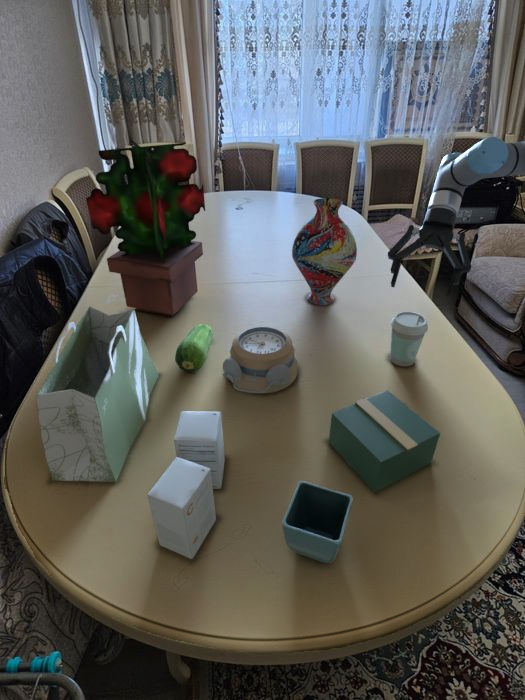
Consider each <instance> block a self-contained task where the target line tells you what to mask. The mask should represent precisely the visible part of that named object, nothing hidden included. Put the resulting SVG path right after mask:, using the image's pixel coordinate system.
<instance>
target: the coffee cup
mask: <svg viewBox="0 0 525 700" xmlns="http://www.w3.org/2000/svg"><path fill="white" fill-rule="evenodd" d="M390 326H391V336H390V351H389V352H390V357H389V358H390V361H391V362H392V363H393V364H394V365H397V366H399V367H410V366H412V365H413V364H414V363H415V361H416V357H417V356H418V352H419V349H420V348H421V346H422V345H421V344H422V342H423V339H424V337H425V334H426V333H427V332H428V329H429V327H428V326H429V324H428V321H427V318H426V317H425V316H424V315H422V314H420V313H419V312H415V311H409V310H405V311H400V312H399V311H398V312H397V313H396V314H395V315H394V317H393V318H392V319H391V322H390Z"/></svg>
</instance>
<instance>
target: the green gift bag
mask: <svg viewBox="0 0 525 700" xmlns="http://www.w3.org/2000/svg"><path fill="white" fill-rule="evenodd" d="M71 329H72V331H73V332H72V333H71V335H70V337H69V339H68V341H67V342H66V344H65V346H64V348H63V349H62V351H61V353H60V350H61V346H62V343H63V341H64V339H65V337H66V335H67V334H68V332H69V331H70V330H71ZM59 353H60V355H59ZM159 376H160V374H159V373H158V370H157V368H156V366H155V364H154V362H153V360H152V358H151V355H150V352H149V351H148V347H147V346H146V343H145V341H144V337H143V336H142V333H141V330H140V326H139V323H138V319H137V315H136V311H135V309H130V310H126V311H122V312H118V313H112V314H107V313H105V312H103V311H101V310H100V309H97V308H94V307H93V306H90V305H89V306H88V307H87V309H86V311H85V312H84V313H83V315H82V317H81V318H80V320H79V322H78V323H77V325H76V324H75V322H74V321H72V322H69V323H68V325H67V328H66V331H65V332H64V333H63V334H62V336H60V338H59V340H58V343H57V346H56V349H55V357H54V365H53V368H52V369H51V371H50V372H49V374H48V375H47V378H46V379H45V381H44V383H43V384H42V386H41V387H40V389H39V391H38V393H37V394H36V399H37V401H36V402H37V403H36V404H37V421H38V426H39V432H40V437H41V443H42V449H43V453H44V456H45V461H46V463H47V466H48V470H49V474H50V477H51V480H52V481H58V482H59V481H62V482H63V481H64V482H67V481H68V482H102V483H103V482H104V483H105V482H108V483H109V482H110V483H117V482H118V479H119V476H120V474H121V471H122V469H123V467H124V464H125V463H126V459H127V457H128V455H129V453H130V450H131V448H132V446H133V444H134V443H135V441H136V439H137V437H138V435H139V434H140V431H141V430H142V427H143V426H144V424H145V422H146V417H147V412H148V408H149V407H148V406H149V400H150V395H151V393H152V392H153V388H154V387H155V384H156V382H157V380H158V378H159Z"/></svg>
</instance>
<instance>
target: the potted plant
mask: <svg viewBox="0 0 525 700" xmlns="http://www.w3.org/2000/svg"><path fill="white" fill-rule="evenodd" d="M130 142H131V143H132V145H131V147H122V148H112V149H102V150H97V152H98V155H99V157H100V159H101V160H103V161H115V162H114V163H111V165H110V168H109V170H108V171H100V172H98V173H97V174H96V175H95V181H96V182H97V183H98V184H100V185H104V188H105V191H106V193H104V192H103V189H101V188H99V187H96V188H93V189H92V190H91V192H90V195H89V196H87V197H86V198H85V201H86V205H87V210H88V214H89V219H90V223H91V227H92V229H93V230H97V231H98V232H99V233H100V234H101V235H105V236H106V235H109V234H110V232H111V230H112V228H113V227H119V228H117V229H116V230H115V232H114V235H115V237H116V238H117V239H119V240H122V241H119V243H118V244H117V249H118V251H117V252H115V253H113V254H112V255H110V256H109V257H107V258H106V262H107V267H108V272H109V273H113V274H120V279H121V284H122V289H123V290H122V291H123V294H124V299H125V304H126V307H128V308H134V309H136V310H137V311H139V312H145V313H151V314H154V315H155V314H156V315H162V316H167V317H173V316H174V315H176V313H178V312H179V310H180V309H181V308H182V307H183V306H185V304H186V303H187V302H188V301H190V299H192V298H193V296H195V294H197V293H198V280H197V269H196V261H197V260H199V259H200V258H201V257H202V256H204V251H203V242H202V241H195V239H196V237H197V232H196V231H195V230H191V229H190V222H192V221H194V219H195V216H196V215H198V214H199V213H200V212H201V208H202V209H203V211H204V212H206V205H205V204H206V201H205V189H204V188H205V187H204V184H202V185H201V188H200V187H199V186H198V184H196V183H187V184H179V183H186V182H189V181H190V180H191V176H192V175H193V174H196V172H197V170H198V164H197V158H196V157H195V155H191V154H190V153H189V151H188V149H186V148H182V146H184V145H186V143H187V142H181V143H180V142H179V143H178V142H177V143H168V144H158V145H157V144H156V145H146V146H141V145H139V144H138V143H136V142H135V141H134V140H132V139H130ZM179 146H181V148H175V147H179ZM152 149H153V150H152ZM124 151H125V152H126V151H127V152H128V151H130V153H131V159H132V166H133V167H131V161H130V158H129V156H128V155H127V154H124V153H121V152H124ZM125 175H126V177H127V182H128V183H126V179H125Z"/></svg>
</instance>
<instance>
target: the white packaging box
mask: <svg viewBox="0 0 525 700" xmlns="http://www.w3.org/2000/svg"><path fill="white" fill-rule="evenodd" d="M174 433H175V434H174V437H173V443H174V444H173V445H174V448H175V455H176V457H179V458H182V459H185V460H187V461H190V462H193V463H196V464H199V465H202V466H204V467H207V468H210V470H211V478H212V487H213V490H220V489H222V485H223V479H224V471H225V470H224V469H225V461H226V457H225V446H224V433H223V421H222V411H207V410H206V411H204V410H203V411H201V410H195V411H193V410H186V411H184V410H182V411H180V414H179V418H178V422H177V426H176V429H175V432H174Z"/></svg>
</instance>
